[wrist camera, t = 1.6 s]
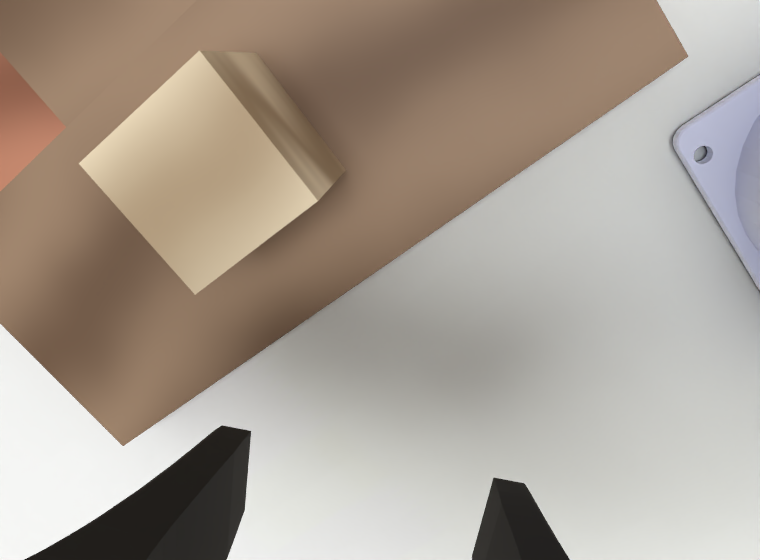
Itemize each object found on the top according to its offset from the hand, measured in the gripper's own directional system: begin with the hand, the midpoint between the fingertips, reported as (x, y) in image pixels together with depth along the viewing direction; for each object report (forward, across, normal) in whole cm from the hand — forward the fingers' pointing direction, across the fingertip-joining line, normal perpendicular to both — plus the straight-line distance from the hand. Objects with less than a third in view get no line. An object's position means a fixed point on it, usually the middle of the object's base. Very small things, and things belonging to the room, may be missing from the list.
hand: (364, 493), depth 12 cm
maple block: (+7, +5, -5) cm, 10 cm away
